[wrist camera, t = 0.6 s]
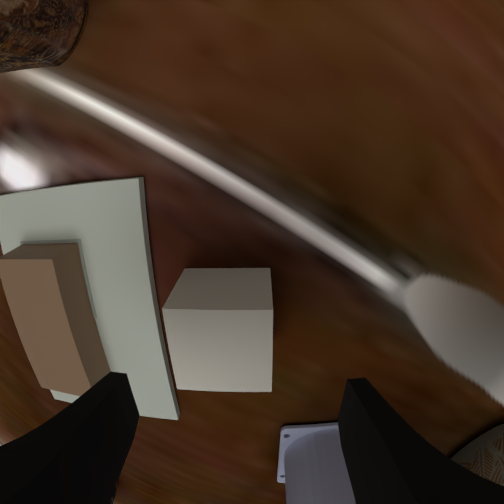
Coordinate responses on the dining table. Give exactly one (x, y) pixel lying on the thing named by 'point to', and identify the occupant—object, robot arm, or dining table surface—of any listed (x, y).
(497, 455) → the vase
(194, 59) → the dining table surface
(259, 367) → the cream cube
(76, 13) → the book
